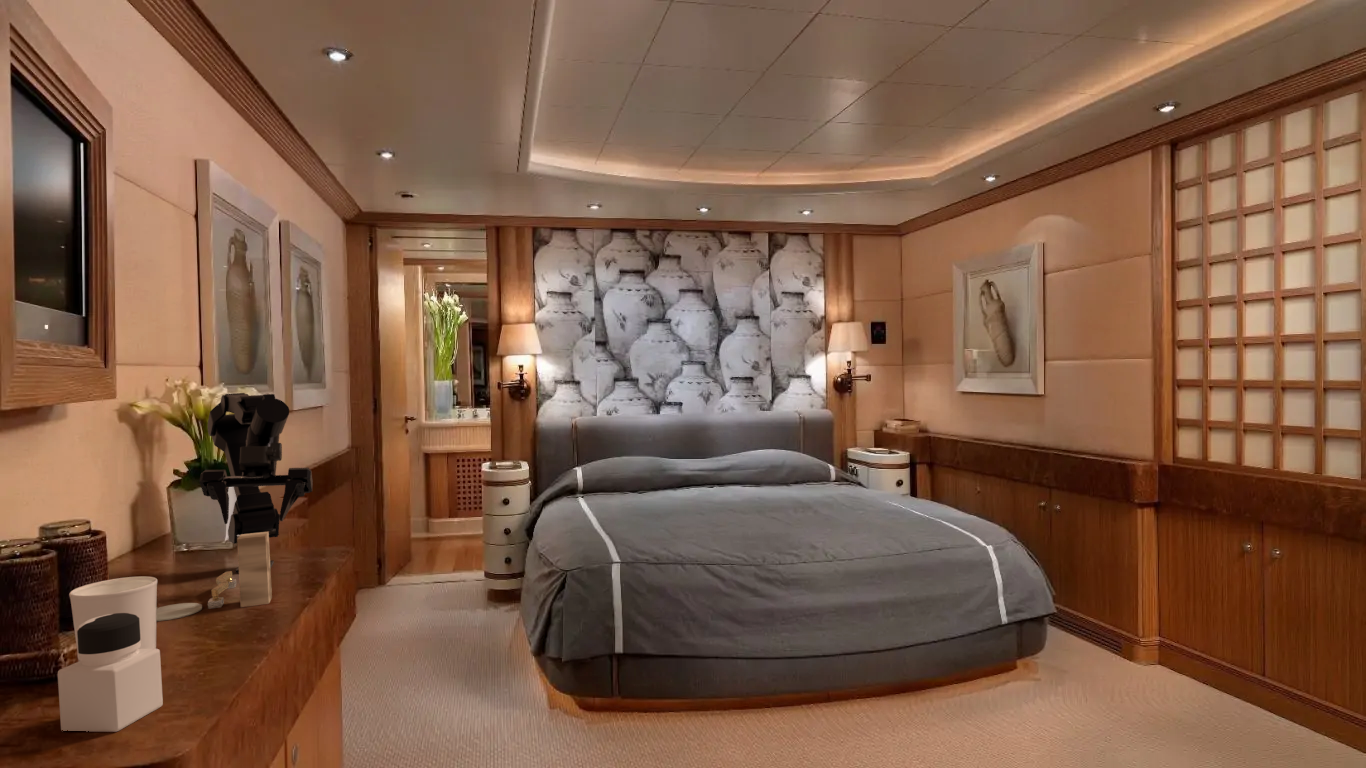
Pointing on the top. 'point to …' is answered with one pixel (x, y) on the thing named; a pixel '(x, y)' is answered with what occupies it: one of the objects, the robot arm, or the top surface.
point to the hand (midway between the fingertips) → (253, 521)
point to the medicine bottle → (109, 677)
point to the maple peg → (254, 569)
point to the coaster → (177, 611)
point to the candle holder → (119, 603)
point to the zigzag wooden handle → (221, 589)
